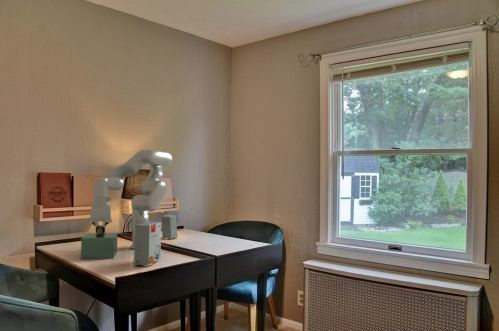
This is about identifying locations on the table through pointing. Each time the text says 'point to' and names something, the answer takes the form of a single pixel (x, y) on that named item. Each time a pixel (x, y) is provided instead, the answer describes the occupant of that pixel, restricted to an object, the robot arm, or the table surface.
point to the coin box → (99, 246)
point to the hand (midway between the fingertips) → (100, 234)
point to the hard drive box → (147, 243)
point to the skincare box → (169, 226)
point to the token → (99, 231)
